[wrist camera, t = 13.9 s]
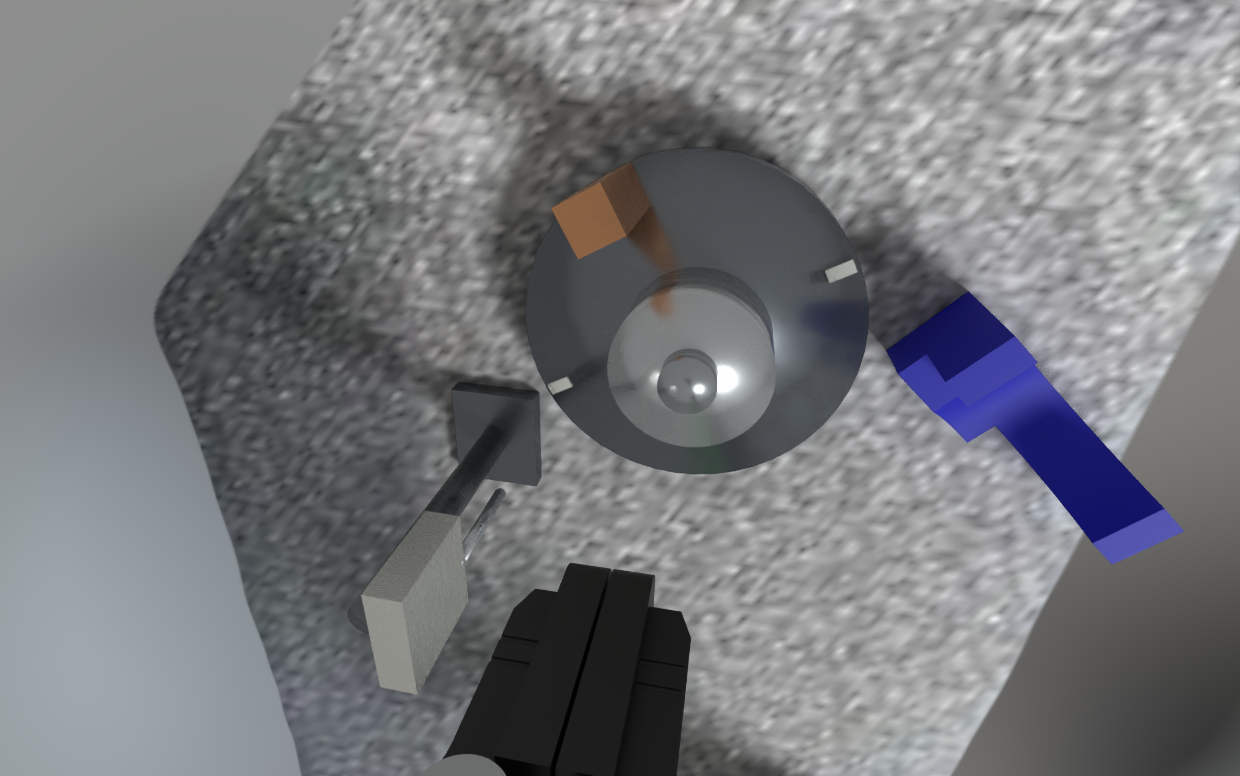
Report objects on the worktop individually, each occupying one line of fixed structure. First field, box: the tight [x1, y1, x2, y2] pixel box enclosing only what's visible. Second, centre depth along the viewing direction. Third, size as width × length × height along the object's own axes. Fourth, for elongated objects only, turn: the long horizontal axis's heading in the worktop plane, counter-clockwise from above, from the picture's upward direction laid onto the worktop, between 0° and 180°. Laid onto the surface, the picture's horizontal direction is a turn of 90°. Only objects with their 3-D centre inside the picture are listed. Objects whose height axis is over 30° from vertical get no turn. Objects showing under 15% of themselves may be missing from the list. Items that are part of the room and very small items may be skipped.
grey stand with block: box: [348, 382, 541, 695], centre depth 31 cm, size 6×5×16 cm
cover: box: [607, 267, 776, 447], centre depth 27 cm, size 7×7×5 cm
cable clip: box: [886, 291, 1183, 564], centre depth 29 cm, size 12×4×6 cm, turn 47°
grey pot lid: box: [526, 147, 869, 474], centre depth 27 cm, size 16×16×8 cm
